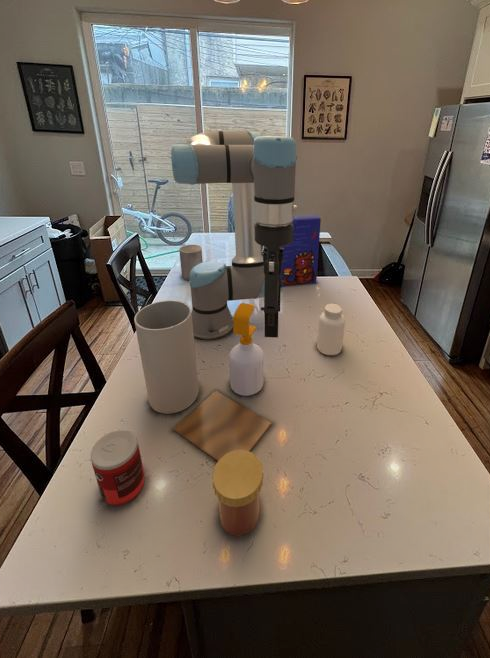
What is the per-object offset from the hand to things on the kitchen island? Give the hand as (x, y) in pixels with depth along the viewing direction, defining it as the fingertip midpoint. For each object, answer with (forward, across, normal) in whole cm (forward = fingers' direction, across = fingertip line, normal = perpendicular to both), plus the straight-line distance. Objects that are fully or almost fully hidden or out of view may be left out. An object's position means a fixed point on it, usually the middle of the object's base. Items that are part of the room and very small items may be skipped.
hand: (272, 322), depth 71 cm
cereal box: (+26, +72, -4) cm, 76 cm away
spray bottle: (+27, +10, +8) cm, 29 cm away
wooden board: (+27, -4, +11) cm, 29 cm away
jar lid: (+16, -22, +4) cm, 28 cm away
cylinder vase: (+27, +4, +26) cm, 37 cm away
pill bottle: (+27, +27, -17) cm, 41 cm away
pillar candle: (+26, +74, +41) cm, 89 cm away
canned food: (+27, -19, +28) cm, 43 cm away
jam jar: (+27, -22, +4) cm, 35 cm away
